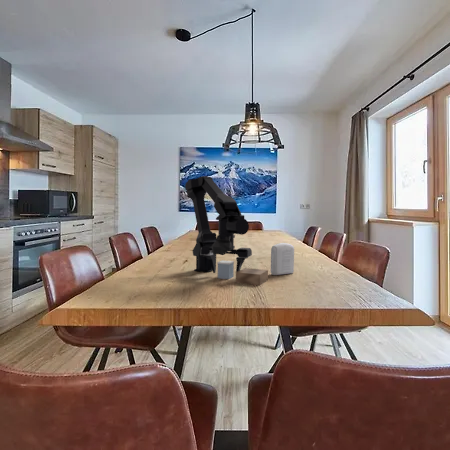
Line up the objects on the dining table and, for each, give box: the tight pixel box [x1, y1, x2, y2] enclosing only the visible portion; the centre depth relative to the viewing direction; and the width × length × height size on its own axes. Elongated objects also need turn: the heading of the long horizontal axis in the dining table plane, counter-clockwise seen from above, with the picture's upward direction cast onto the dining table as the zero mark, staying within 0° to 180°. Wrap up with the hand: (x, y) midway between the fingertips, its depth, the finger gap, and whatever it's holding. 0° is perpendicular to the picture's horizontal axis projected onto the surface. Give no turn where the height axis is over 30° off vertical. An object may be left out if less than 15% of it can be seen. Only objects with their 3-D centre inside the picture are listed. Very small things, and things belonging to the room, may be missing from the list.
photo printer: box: [270, 242, 295, 276], centre depth 135 cm, size 10×4×12 cm, turn 123°
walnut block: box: [235, 267, 269, 286], centre depth 121 cm, size 9×9×4 cm
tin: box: [216, 259, 235, 280], centre depth 127 cm, size 5×5×6 cm
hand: (225, 274), depth 127 cm, fingers open, 9 cm apart
